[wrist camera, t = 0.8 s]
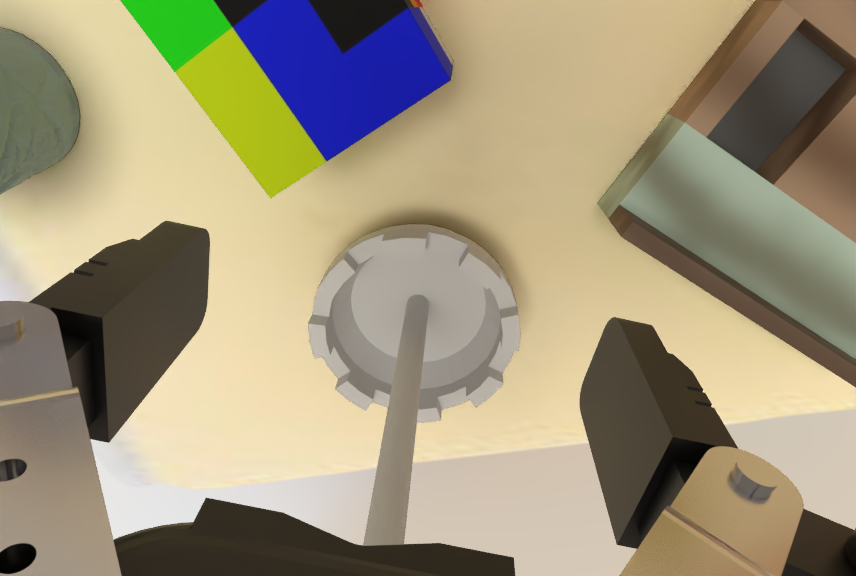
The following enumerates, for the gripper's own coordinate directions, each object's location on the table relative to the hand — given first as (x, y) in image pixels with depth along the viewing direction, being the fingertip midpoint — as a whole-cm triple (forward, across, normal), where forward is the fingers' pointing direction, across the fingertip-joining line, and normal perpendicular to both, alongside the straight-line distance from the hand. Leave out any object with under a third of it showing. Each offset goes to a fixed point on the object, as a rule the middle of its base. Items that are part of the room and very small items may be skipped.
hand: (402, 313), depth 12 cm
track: (+26, -24, -3) cm, 36 cm away
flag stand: (+26, -1, +13) cm, 29 cm away
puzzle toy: (+26, +7, -2) cm, 28 cm away
